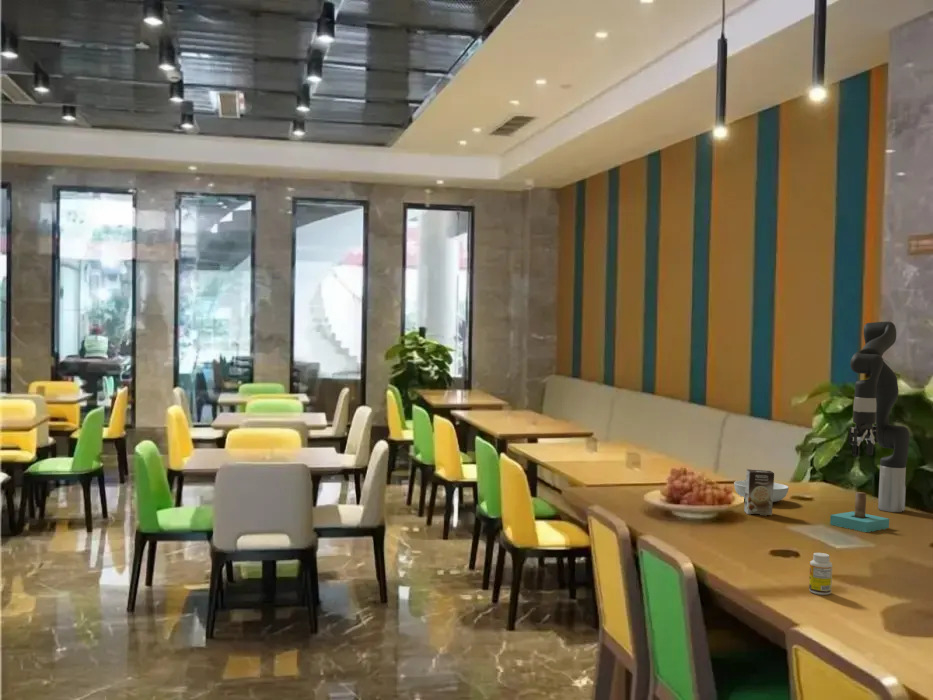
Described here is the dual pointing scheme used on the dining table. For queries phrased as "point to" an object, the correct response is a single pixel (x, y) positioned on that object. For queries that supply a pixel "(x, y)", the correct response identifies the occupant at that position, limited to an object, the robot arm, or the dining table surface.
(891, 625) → the dining table surface
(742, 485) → the serving bowl
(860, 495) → the peg
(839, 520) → the hole block
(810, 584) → the supplement bottle
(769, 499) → the coffee box
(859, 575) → the dining table surface
